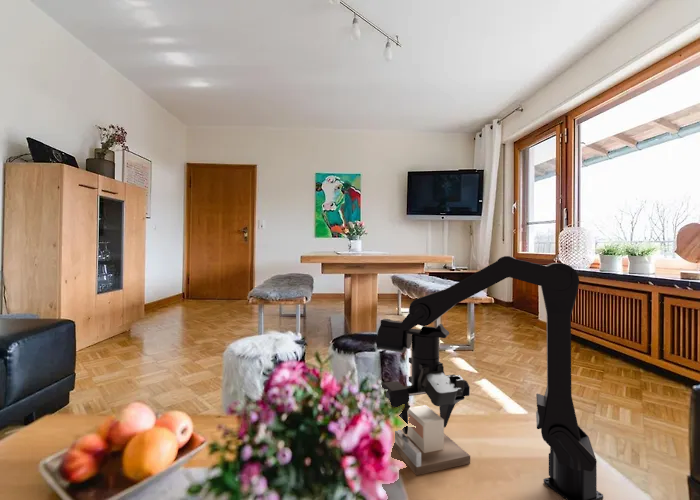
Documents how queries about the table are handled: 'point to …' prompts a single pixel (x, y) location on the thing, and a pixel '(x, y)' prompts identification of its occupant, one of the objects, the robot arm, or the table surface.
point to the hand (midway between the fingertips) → (424, 430)
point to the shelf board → (429, 455)
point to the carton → (426, 428)
